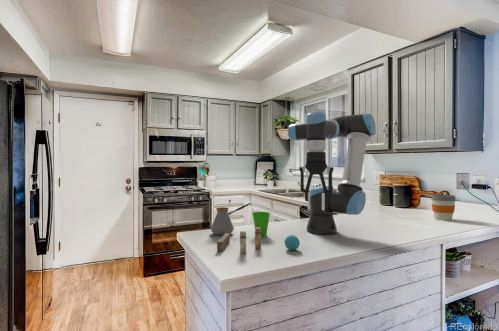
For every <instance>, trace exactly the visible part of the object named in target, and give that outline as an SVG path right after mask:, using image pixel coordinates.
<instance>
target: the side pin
mask: <svg viewBox="0 0 499 331" xmlns="http://www.w3.org/2000/svg"><path fill="white" fill-rule="evenodd" d="M239 254H240V255H246V254H247V231H246V230H241V231H239Z"/></svg>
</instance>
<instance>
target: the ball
mask: <svg viewBox="0 0 499 331" xmlns="http://www.w3.org/2000/svg"><path fill="white" fill-rule="evenodd" d="M300 243H301V242H300V240H299V238H298V237H297V236H296V235H294V234H289V235H288V236H286V237H285V240H284V246H285V247H286V249H287V250H289V251H296V250H297V249H299V246H300Z"/></svg>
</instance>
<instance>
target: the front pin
mask: <svg viewBox="0 0 499 331" xmlns="http://www.w3.org/2000/svg"><path fill="white" fill-rule="evenodd" d="M254 249H255V250H261V249H262V237H261V228H260V227H256V228H255V227H254Z"/></svg>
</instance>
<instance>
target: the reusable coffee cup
mask: <svg viewBox="0 0 499 331" xmlns="http://www.w3.org/2000/svg"><path fill="white" fill-rule="evenodd" d="M430 200H431V207H432V208H431V209H432V212H433V218H434V220H436V219H437V220H436V221H441V220H443V222H451V221H450V220H452V221H453V215H454V213H455V208H456V205H455V202H456V200H457V199H456V196H455V195H451V194H437V193H436V194H431V199H430Z"/></svg>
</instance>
